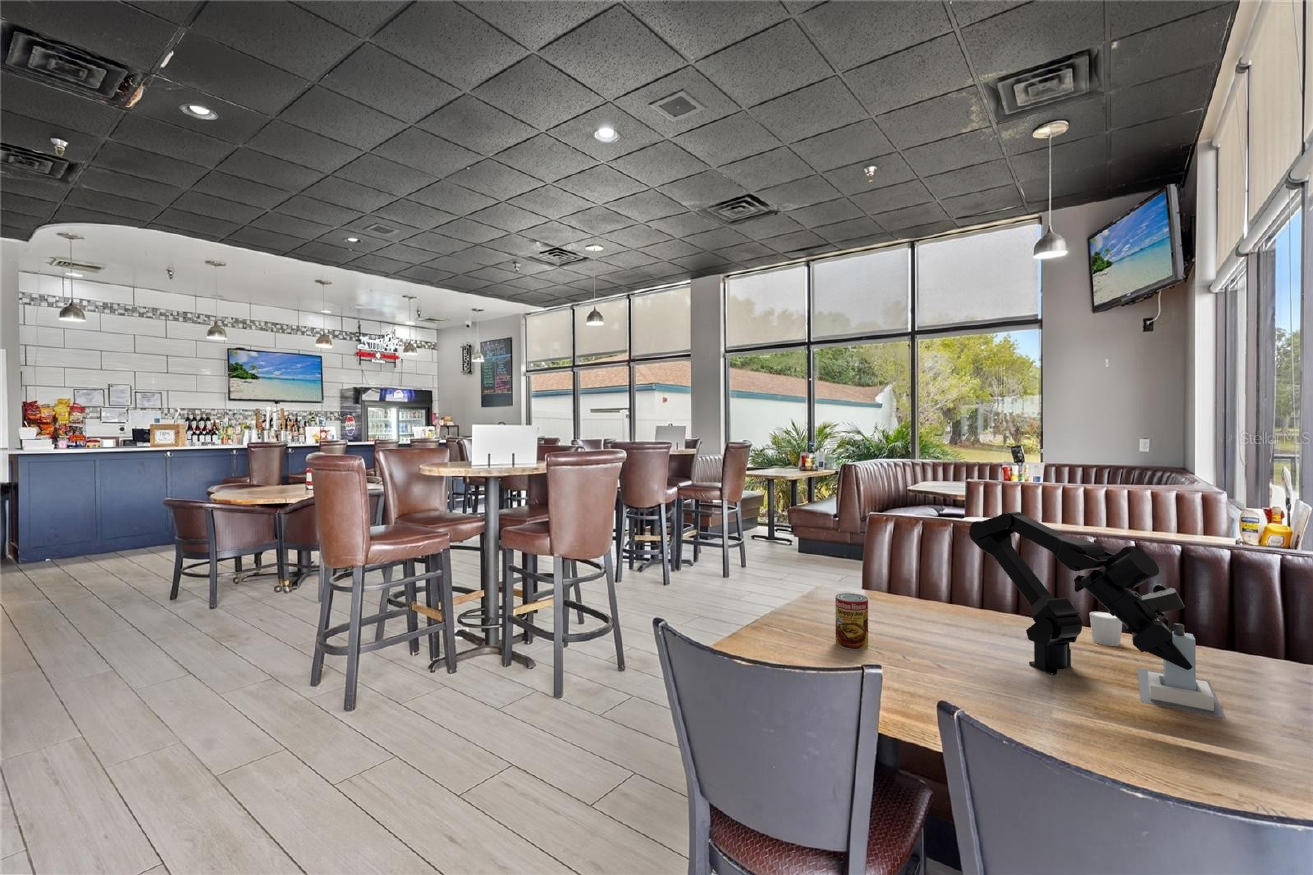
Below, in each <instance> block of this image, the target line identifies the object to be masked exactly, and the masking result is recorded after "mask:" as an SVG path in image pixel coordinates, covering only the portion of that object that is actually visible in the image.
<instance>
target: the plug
mask: <svg viewBox="0 0 1313 875" xmlns="http://www.w3.org/2000/svg"><path fill="white" fill-rule="evenodd" d="M1172 626H1173V631H1172V633H1173V643H1174V644H1175V645H1176V647H1177V648H1178V649H1179V650H1180V652H1181V653H1182V654H1183V655H1184V656H1185V658H1186V659H1187V660H1188V661H1189V663H1190V664H1191V665H1192V668H1191V669H1190V670H1186V669H1184V668H1182V667H1179V666H1177V665H1175V664H1173V663H1171V662H1169V661H1167V660H1164V659H1162V660H1163V663H1162V668H1163V670H1162V672H1163V685H1164V686H1170V687H1175V688H1181V689H1186V690H1191V691H1196V678H1197V674H1196V672H1197V671H1196V670H1197V669H1196V668H1197V667H1196V665H1197V664H1196V662H1197V661H1196V660H1197V659H1196V653H1197V652H1196V638H1195V636H1194V634H1193V633H1188V632H1185V625H1184V624H1182V623H1177V622H1175V623H1173V624H1172Z"/></svg>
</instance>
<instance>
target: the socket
mask: <svg viewBox="0 0 1313 875" xmlns="http://www.w3.org/2000/svg"><path fill="white" fill-rule="evenodd" d="M1148 688H1149V694H1150V699H1151V701H1153V702H1158V703H1163V704H1168V705H1173V706H1178V707H1183V708H1188V709H1193V710H1198V711H1203V712H1208V713H1213V714H1214V697H1213V694H1212V692H1211V690H1210V688H1209V685H1208V683H1207V682H1206V681H1200V680H1196V691H1191V690H1186V689H1181V688H1175V687H1170V686H1164V685H1163V674H1160V673H1155V672H1149V671H1148Z"/></svg>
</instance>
